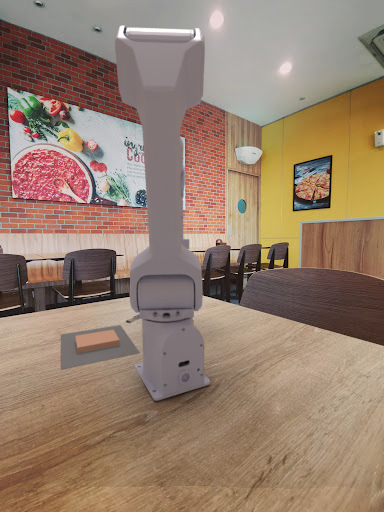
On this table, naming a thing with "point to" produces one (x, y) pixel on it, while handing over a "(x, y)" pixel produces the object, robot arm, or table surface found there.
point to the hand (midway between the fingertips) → (171, 281)
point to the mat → (73, 359)
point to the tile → (96, 341)
